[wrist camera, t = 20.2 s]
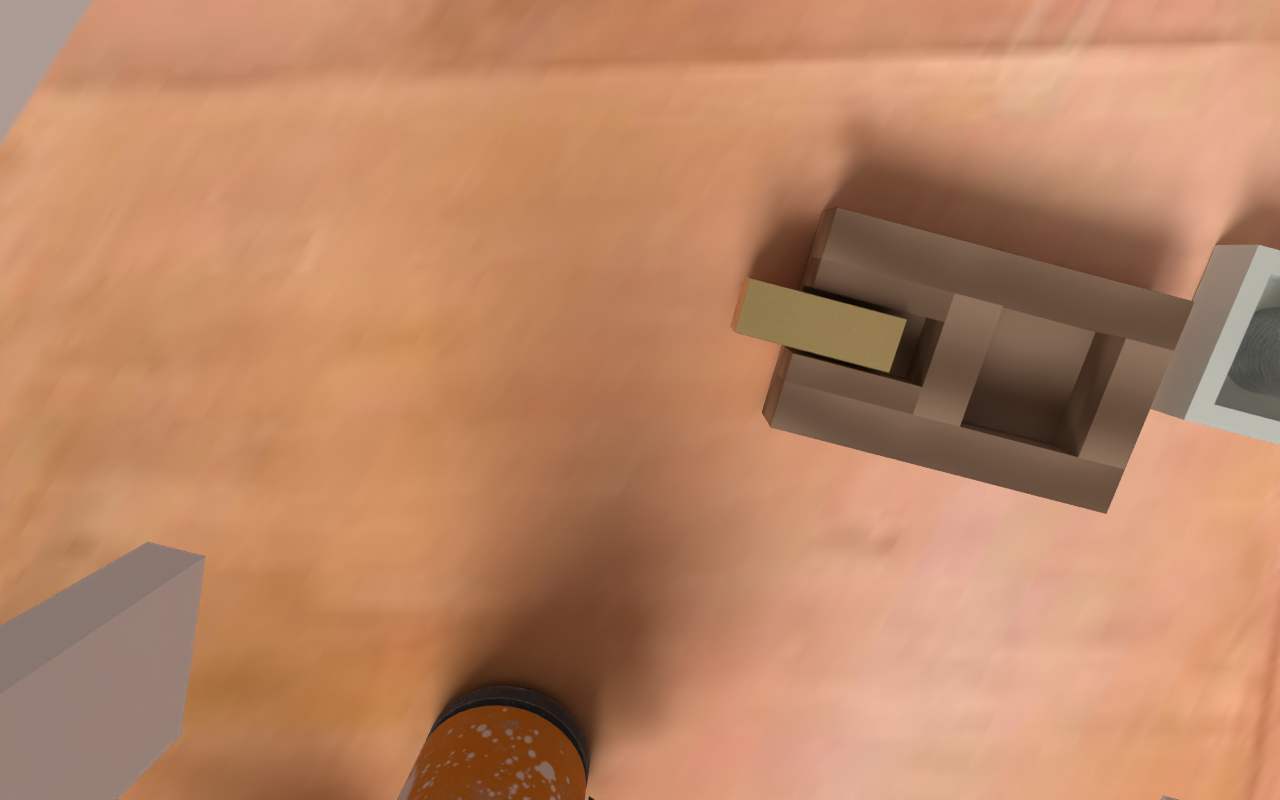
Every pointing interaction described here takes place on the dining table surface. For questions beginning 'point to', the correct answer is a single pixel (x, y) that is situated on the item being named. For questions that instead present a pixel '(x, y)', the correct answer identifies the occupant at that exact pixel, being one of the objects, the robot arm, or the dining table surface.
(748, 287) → the bar
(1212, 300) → the pale grey square tray
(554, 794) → the canister
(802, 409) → the socket block
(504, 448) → the dining table surface
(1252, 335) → the metal round-nosed cylinder
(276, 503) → the dining table surface
